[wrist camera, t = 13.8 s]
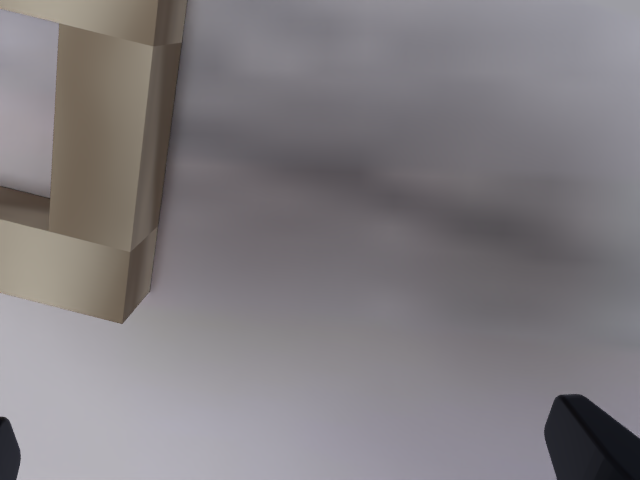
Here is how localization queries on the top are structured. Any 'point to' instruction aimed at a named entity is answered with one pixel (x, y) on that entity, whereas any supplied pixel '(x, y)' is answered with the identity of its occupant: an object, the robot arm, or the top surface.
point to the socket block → (98, 158)
